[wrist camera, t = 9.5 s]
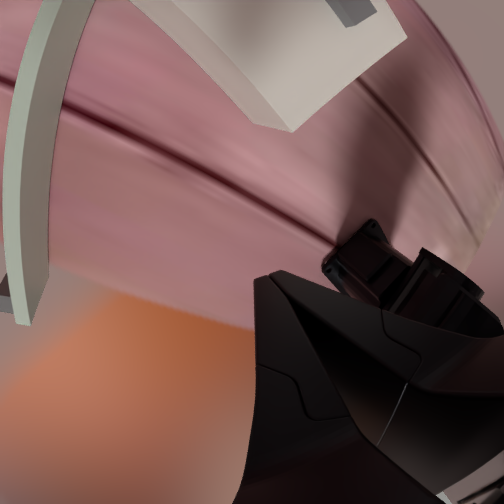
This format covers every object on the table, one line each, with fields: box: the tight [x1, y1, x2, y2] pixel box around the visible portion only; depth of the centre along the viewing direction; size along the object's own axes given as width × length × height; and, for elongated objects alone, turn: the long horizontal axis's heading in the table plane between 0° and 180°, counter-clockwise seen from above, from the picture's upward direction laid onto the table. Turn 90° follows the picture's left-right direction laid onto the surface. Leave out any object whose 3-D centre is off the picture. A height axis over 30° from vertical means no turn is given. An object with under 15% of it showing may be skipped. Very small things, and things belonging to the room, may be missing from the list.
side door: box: [0, 0, 95, 326], centre depth 11 cm, size 19×3×5 cm, turn 162°
